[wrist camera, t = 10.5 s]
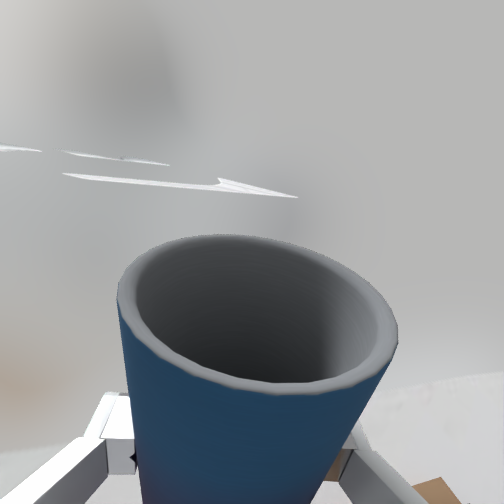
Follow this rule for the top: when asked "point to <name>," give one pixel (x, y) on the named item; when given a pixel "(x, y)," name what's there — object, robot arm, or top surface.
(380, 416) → the top surface
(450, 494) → the board
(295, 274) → the cup
